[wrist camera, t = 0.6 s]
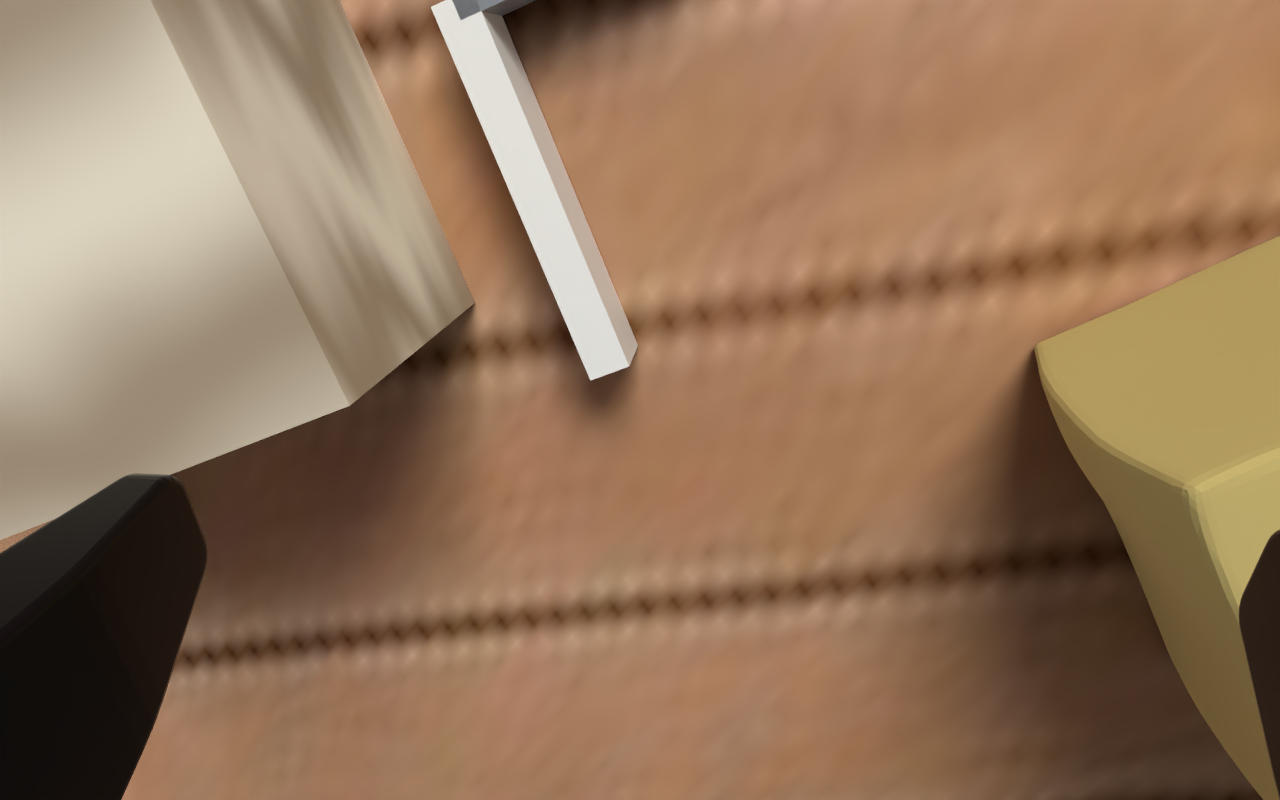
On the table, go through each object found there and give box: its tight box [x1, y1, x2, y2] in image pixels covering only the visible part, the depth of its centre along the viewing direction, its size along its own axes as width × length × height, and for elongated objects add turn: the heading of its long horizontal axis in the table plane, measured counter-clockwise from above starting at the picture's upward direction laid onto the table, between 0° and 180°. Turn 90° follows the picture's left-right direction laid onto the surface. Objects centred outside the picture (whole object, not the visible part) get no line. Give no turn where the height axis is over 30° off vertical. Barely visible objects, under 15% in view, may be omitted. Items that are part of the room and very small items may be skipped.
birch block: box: [0, 0, 475, 540], centre depth 22 cm, size 15×8×9 cm, turn 22°
